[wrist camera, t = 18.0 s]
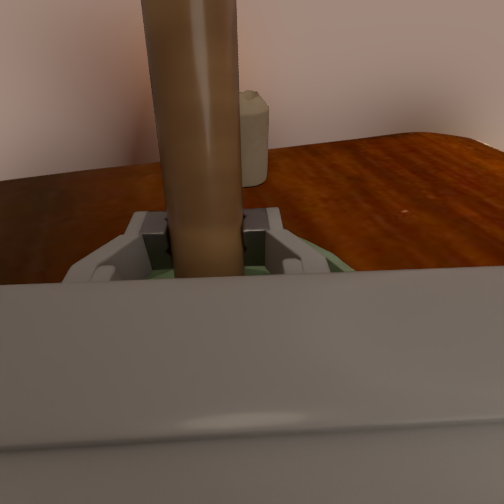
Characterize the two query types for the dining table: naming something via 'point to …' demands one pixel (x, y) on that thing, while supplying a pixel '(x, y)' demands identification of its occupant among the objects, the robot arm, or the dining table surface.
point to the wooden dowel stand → (198, 131)
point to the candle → (253, 138)
